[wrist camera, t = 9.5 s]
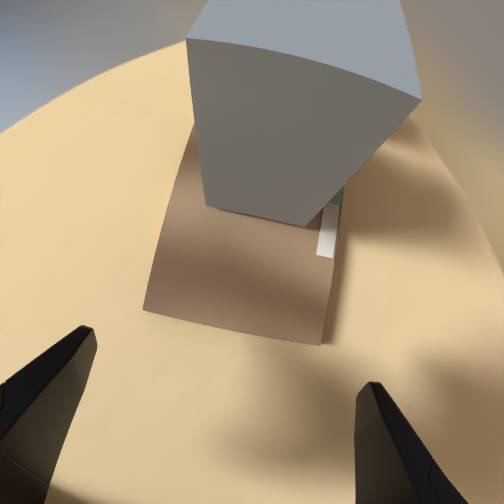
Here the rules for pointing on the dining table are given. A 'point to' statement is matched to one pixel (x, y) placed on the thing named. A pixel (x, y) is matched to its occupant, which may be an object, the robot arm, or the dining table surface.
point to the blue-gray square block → (295, 98)
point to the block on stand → (242, 264)
